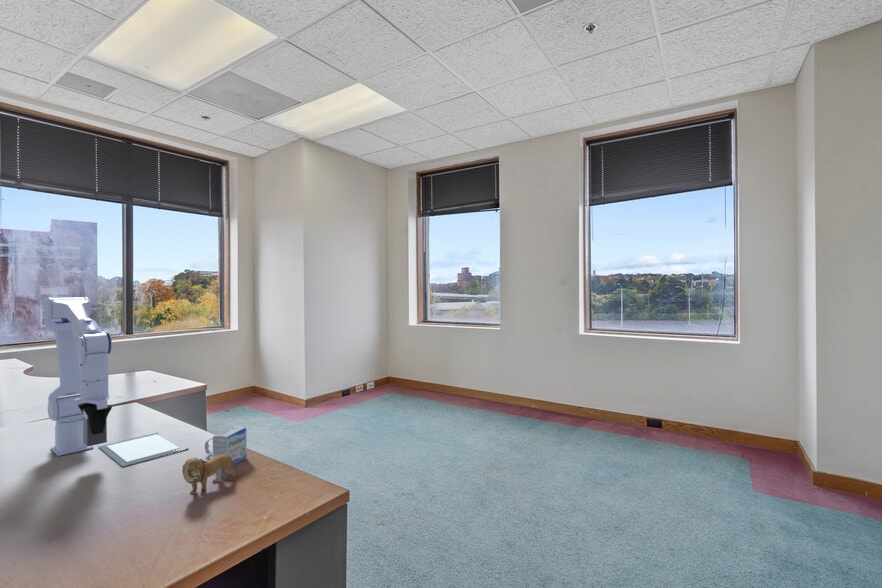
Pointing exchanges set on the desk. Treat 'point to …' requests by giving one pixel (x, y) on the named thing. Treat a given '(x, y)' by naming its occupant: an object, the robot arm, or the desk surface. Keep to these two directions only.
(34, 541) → the desk surface
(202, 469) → the lion figurine
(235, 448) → the medicine box
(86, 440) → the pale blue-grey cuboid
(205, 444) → the wristwatch
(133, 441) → the desk mat
